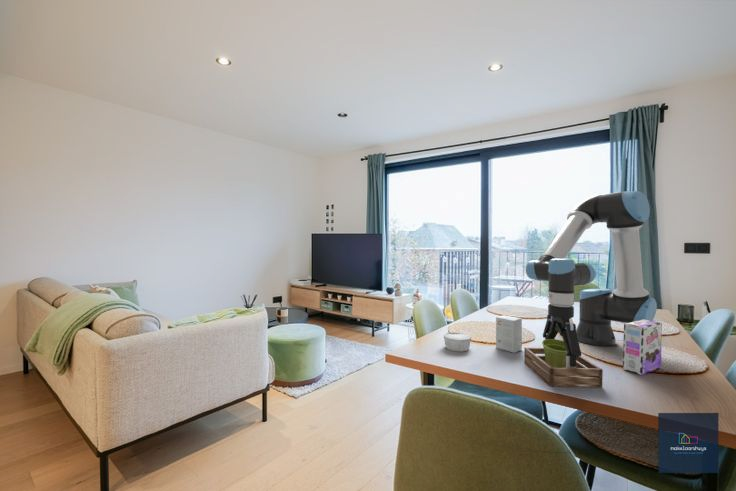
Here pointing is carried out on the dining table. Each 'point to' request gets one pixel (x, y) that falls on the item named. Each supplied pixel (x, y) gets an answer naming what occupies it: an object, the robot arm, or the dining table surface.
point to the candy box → (642, 346)
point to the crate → (564, 371)
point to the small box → (509, 333)
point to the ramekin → (457, 341)
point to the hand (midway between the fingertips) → (560, 367)
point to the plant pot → (555, 353)
